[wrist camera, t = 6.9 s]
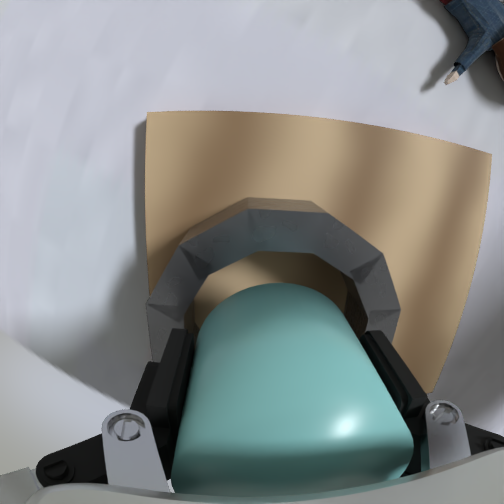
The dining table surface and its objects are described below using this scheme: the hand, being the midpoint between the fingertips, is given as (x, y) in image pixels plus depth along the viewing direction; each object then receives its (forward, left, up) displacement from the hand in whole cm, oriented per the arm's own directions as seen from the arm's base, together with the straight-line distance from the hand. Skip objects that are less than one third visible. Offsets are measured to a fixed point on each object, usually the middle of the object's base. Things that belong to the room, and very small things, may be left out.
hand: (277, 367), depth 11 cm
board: (-3, -1, -6) cm, 7 cm away
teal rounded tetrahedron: (0, 0, -1) cm, 1 cm away
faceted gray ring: (0, 0, -5) cm, 5 cm away
